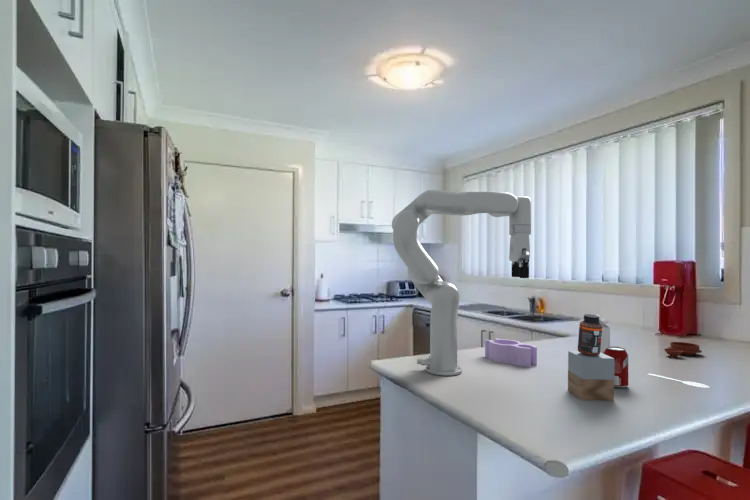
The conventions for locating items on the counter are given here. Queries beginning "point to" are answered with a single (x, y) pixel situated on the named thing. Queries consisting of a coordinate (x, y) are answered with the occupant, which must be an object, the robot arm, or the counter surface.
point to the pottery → (682, 349)
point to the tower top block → (591, 366)
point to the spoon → (683, 381)
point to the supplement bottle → (590, 335)
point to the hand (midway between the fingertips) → (519, 277)
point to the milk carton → (604, 335)
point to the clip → (511, 352)
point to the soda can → (619, 365)
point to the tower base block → (591, 388)
